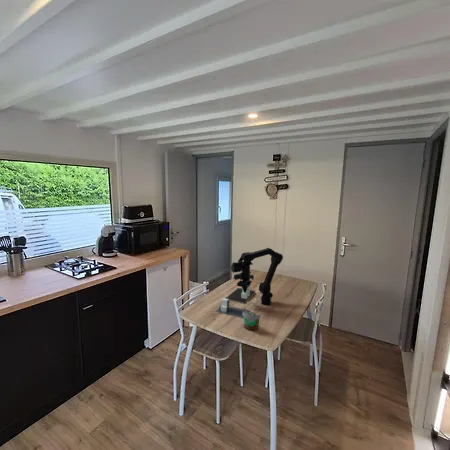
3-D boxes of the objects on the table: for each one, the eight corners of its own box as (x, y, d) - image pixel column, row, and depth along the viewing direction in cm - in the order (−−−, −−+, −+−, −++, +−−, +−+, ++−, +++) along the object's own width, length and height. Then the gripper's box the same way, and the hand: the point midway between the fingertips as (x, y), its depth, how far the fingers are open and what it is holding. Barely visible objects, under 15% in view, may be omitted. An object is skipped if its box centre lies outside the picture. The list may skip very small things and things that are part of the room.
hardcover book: (255, 293, 208) (255, 291, 208) (244, 305, 188) (244, 302, 188) (237, 290, 216) (237, 287, 215) (224, 300, 196) (224, 297, 195)
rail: (251, 311, 177) (251, 308, 177) (245, 319, 167) (245, 315, 166) (222, 305, 187) (222, 302, 186) (215, 312, 176) (215, 309, 175)
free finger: (249, 295, 185) (249, 285, 184) (246, 298, 179) (246, 288, 178) (243, 294, 187) (244, 284, 186) (240, 297, 181) (240, 287, 180)
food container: (238, 326, 158) (238, 311, 157) (244, 322, 162) (244, 308, 161) (253, 334, 149) (253, 318, 148) (260, 330, 154) (260, 314, 152)
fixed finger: (230, 308, 181) (230, 298, 180) (226, 312, 175) (226, 302, 174) (224, 306, 183) (224, 297, 182) (220, 311, 177) (220, 300, 176)
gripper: (240, 265, 192) (240, 285, 194) (230, 273, 175) (230, 294, 178) (254, 267, 187) (254, 288, 190) (245, 275, 171) (245, 297, 173)
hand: (245, 291), depth 183 cm, fingers closed on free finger, 3 cm apart
